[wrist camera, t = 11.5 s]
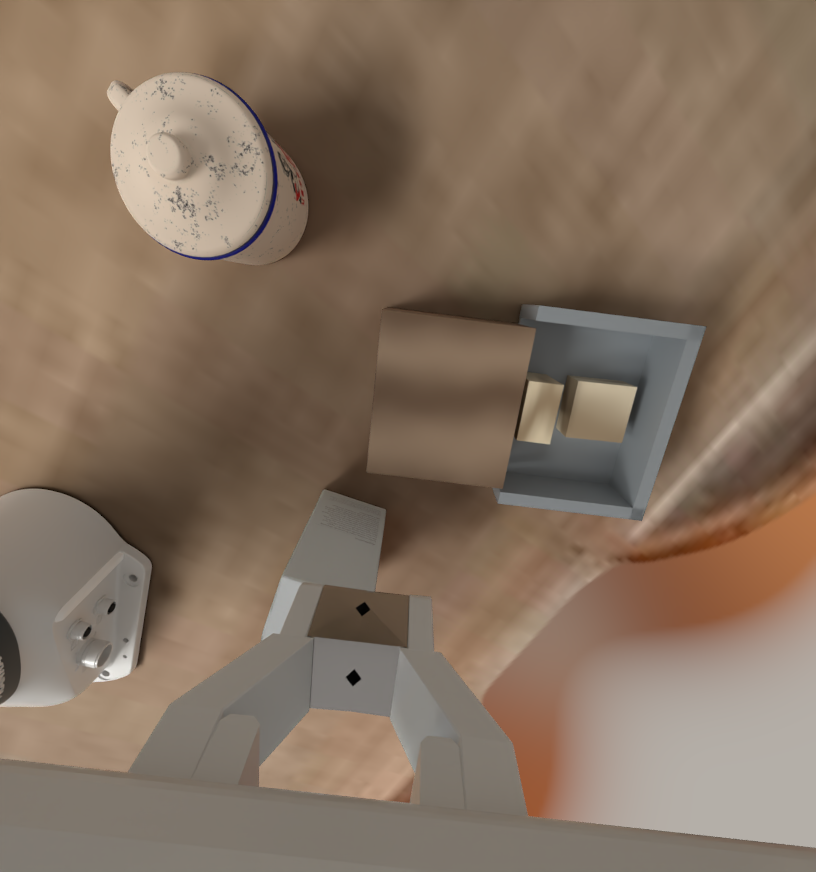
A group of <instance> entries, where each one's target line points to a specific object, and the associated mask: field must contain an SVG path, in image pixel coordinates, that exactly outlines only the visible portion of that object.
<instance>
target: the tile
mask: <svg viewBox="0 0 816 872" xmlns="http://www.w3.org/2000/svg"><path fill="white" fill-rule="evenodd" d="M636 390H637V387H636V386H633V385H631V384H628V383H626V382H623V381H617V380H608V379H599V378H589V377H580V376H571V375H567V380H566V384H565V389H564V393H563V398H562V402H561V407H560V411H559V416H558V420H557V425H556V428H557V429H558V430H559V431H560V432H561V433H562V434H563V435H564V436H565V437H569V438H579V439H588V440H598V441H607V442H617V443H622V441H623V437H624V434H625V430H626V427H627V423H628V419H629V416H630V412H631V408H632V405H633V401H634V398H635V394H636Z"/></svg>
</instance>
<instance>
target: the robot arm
mask: <svg viewBox="0 0 816 872" xmlns="http://www.w3.org/2000/svg"><path fill="white" fill-rule="evenodd" d="M151 570H152V564H151V562H150V560H149V559H148V558H147V557H146V556H145V555H144V554H143V553H141V552H140V551H138V550H137V549H135V548H134V547H132V546H130V545H129V544H127V543H126V542H125V541H124V540H123V539H122V538H121V537H120V536H119V535H118V534H117V532H116V531H115V530H114V529H113V527H112V526H111V525H110V524H109V523H108V522H107V521H106V520H105V519H104V518H103V517H102V516H101V515H100V514H99V513H97V512H96V511H95V510H93V509H92V508H91V507H89V506H88V505H86V504H84V503H83V502H81V501H79V500H77V499H75V498H73V497H70V496H68V495H65V494H62V493H59V492H55V491H51V490H45V489H22V490H17V491H13V492H10V493H7V494H5V495H3V496H1V497H0V707H45V706H52V705H57V704H61V703H64V702H67V701H69V700H71V699H73V698H75V697H76V696H78V695H79V694H81V693H82V692H83V691H84V690H85V689H86V688H87V687H88V686H89V685H90V684H91V683H92V682H104V681H111V680H115V679H119V678H122V677H125V676H127V675H129V674H130V673H131V672H132V671H133V670H134V669H135V668H136V665H137V661H138V655H139V649H140V642H141V635H142V629H143V622H144V616H145V609H146V603H147V596H148V590H149V583H150V577H151ZM309 708H316V709H328V710H341V711H352V712H359V713H366V714H373V715H379V716H386V717H390V720H391V722H392V725H393V727H394V729H395V731H396V733H397V735H398V738H399V740H400V742H401V744H402V746H403V748H404V751H405V753H406V755H407V757H408V759H409V761H410V764H411V766H412V768H413V770H414V772H415V776H414V782H413V787H412V793H411V798H410V803H402V802H393V801H384V800H375V799H366V798H357V797H347V796H338V795H329V794H320V793H311V792H302V791H292V790H283V789H274V788H265V787H259V766H260V765H261V764H262V763H263V762H264V761H265V760H266V759H267V757H268V756H269V755H270V754H271V753H272V752H273V751H274V750H275V748H276V747H277V746H278V745H279V744H280V743H281V742H282V741H283V739H284V738H285V737H286V736H287V735H288V734H289V733H290V732H291V731H292V729H293V728H294V727H295V726H296V725H297V724H298V723H299V722H300V720H301V719H302V718H303V717H304V716H305V715H306V714H307V713H308V711H309ZM0 872H816V848H812V847H803V846H794V845H785V844H776V843H766V842H758V841H748V840H739V839H730V838H722V837H712V836H703V835H693V834H685V833H675V832H667V831H658V830H649V829H639V828H630V827H621V826H612V825H603V824H594V823H584V822H576V821H567V820H557V819H548V818H539V817H529V816H528V814H527V809H526V804H525V800H524V795H523V790H522V785H521V780H520V776H519V771H518V766H517V761H516V757H515V752H514V747H513V743H512V742H511V741H510V739H509V738H508V737H507V736H506V734H505V733H504V732H503V731H502V729H501V728H500V727H499V725H498V724H497V723H496V722H495V720H494V719H493V718H492V717H491V716H490V714H489V713H488V712H487V710H486V709H485V708H484V707H483V705H482V704H481V703H480V701H479V700H478V699H477V698H476V696H475V695H474V694H473V693H472V691H471V690H470V689H469V688H468V686H467V685H466V684H465V682H464V681H463V680H462V679H461V677H460V676H459V675H458V674H457V672H456V671H455V670H454V669H453V667H452V666H451V665H450V664H449V662H448V661H447V660H446V658H445V657H444V656H443V655H442V653H440V652H434V637H433V614H432V599H431V597H429V596H418V595H401V594H392V593H383V592H374V591H367V590H360V589H353V588H346V587H339V586H331V585H322V584H315V583H307V582H303V583H302V584H301V585H300V586H299V589H298V591H297V594H296V596H295V598H294V601H293V603H292V606H291V608H290V610H289V613H288V615H287V618H286V620H285V622H284V625H283V627H282V630H281V632H280V634H275V633H273V634H271V635H270V636H268V637H267V638H265V639H264V640H263V641H261V642H260V643H258V644H257V645H255V646H254V647H252V648H251V649H249V650H248V651H246V652H245V653H244V654H242V655H241V656H239V657H238V658H236V659H235V660H233V661H232V662H230V663H229V664H228V665H226V666H225V667H223V668H222V669H220V670H219V671H217V672H216V673H214V674H213V675H212V676H210V677H209V678H207V679H206V680H204V681H203V682H201V683H200V684H198V685H197V686H196V687H194V688H193V689H191V690H190V691H188V692H187V693H185V694H184V695H182V696H181V697H180V698H178V699H177V700H175V701H174V702H172V703H171V704H170V705H169V706H168V708H167V710H166V711H165V713H164V714H163V716H162V718H161V719H160V721H159V722H158V724H157V726H156V727H155V729H154V731H153V732H152V734H151V735H150V737H149V739H148V740H147V742H146V744H145V745H144V747H143V748H142V750H141V752H140V753H139V755H138V756H137V758H136V760H135V761H134V763H133V765H132V766H131V768H130V769H129V771H128V772H120V771H110V770H101V769H92V768H83V767H74V766H65V765H55V764H46V763H37V762H28V761H19V760H9V759H0Z"/></svg>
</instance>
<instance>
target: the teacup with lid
mask: <svg viewBox="0 0 816 872" xmlns="http://www.w3.org/2000/svg"><path fill="white" fill-rule="evenodd" d="M107 96H108V98H109V100H110V102H111V103H112V104H113V105H114V107H115V108H116V109H117V110H118V111H119V112H118V114H117V117H116V119H115V122H114V126H113V130H112V136H111V164H112V169H113V174H114V178H115V182H116V185H117V188H118V190H119V193H120V195H121V197H122V199H123V201H124V203H125V205H126V207H127V209H128V210H129V212H130V213H131V215H132V216H133V218H134V219H135V220H136V221H137V223H138V224H139V225H140V226H141V227H142V228H143V229H144V230H145V231H146V232H147V233H148V234H149V235H150V236H151V237H152V238H153V239H154V240H156V241H157V242H158V243H159V244H161V245H162V246H164V247H166V248H167V249H169V250H171V251H173V252H175V253H177V254H179V255H182V256H185V257H188V258H193V259H198V260H219V259H221V260H226V261H231V262H237V263H242V264H247V265H265V264H270V263H273V262H276V261H278V260H280V259H282V258H283V257H285V256H286V255H287V254H289V253H290V252H291V251H292V250H293V249H294V248H295V246H296V245H297V244H298V242H299V241H300V239H301V237H302V235H303V233H304V230H305V227H306V224H307V219H308V196H307V191H306V186H305V183H304V180H303V178H302V176H301V173H300V171H299V170H298V168H297V166H296V165H295V163H294V162H293V160H292V159H291V158H290V157H289V155H288V154H287V153H286V152H285V151H284V150H283V149H282V148H281V147H280V146H279V145H278V144H277V142H276V141H275V140H274V139H273V138H272V137H271V136H270V135H269V134H268V133H267V132H266V131H265V129H264V127H263V125H262V123H261V122H260V120H259V118H258V117H257V115H256V114H255V113H254V111H253V110H252V109H251V108H250V106H249V105H248V104H247V103H246V102H245V101H244V100H243V99H242V98H241V97H240V96H239V95H238V94H236V93H235V92H234V91H232V90H231V89H230V88H228V87H227V86H225V85H223V84H222V83H220V82H218V81H216V80H214V79H212V78H209V77H206V76H203V75H198V74H193V73H187V72H172V73H165V74H161V75H158V76H155V77H153V78H151V79H149V80H147V81H145V82H143V83H142V84H141V85H139V86H138V87H137V88H136V89H135V90H133V89H132V88H130V87H129V86H127V85H126V84H124V83H123V82H121V81H118V80H115V81H113V82H112V83H111V85H110V87H109V88H108V91H107Z"/></svg>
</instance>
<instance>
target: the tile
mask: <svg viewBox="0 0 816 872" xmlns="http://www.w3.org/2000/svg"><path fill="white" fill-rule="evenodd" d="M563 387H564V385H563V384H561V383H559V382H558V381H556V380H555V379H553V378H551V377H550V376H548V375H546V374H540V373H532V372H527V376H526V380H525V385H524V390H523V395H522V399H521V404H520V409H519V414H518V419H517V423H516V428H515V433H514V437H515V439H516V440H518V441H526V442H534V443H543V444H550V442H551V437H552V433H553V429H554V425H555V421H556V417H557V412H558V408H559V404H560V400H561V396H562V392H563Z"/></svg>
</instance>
